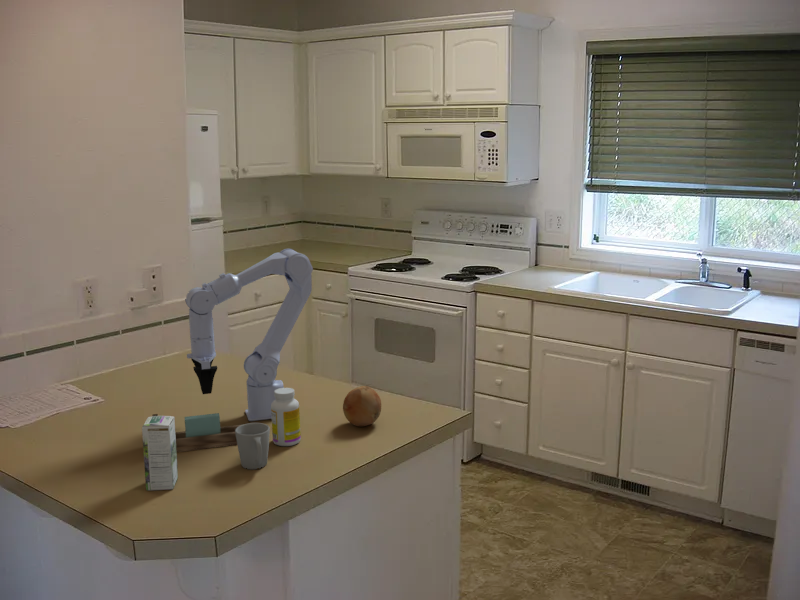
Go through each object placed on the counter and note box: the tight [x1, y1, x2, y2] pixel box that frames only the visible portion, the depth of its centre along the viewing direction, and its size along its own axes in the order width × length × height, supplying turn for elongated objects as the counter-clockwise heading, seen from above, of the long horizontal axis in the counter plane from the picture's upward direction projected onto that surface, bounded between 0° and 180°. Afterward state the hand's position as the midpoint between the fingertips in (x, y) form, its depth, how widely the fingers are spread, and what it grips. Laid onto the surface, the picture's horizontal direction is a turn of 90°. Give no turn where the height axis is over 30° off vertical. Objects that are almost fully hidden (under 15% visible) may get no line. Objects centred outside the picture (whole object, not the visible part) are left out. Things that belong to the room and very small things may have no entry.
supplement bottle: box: [271, 387, 302, 447], centre depth 199 cm, size 7×7×13 cm
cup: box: [235, 422, 271, 470], centre depth 186 cm, size 8×10×8 cm
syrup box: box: [141, 415, 179, 491], centre depth 177 cm, size 6×6×14 cm
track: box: [151, 413, 244, 453], centre depth 200 cm, size 21×8×7 cm, turn 107°
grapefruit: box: [342, 385, 382, 428], centre depth 210 cm, size 10×10×10 cm
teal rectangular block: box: [184, 412, 221, 437], centre depth 200 cm, size 8×2×6 cm, turn 107°
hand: (205, 388), depth 210 cm, fingers open, 7 cm apart
